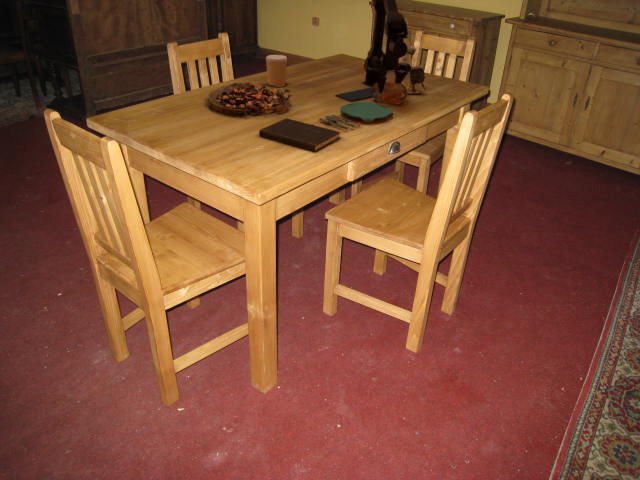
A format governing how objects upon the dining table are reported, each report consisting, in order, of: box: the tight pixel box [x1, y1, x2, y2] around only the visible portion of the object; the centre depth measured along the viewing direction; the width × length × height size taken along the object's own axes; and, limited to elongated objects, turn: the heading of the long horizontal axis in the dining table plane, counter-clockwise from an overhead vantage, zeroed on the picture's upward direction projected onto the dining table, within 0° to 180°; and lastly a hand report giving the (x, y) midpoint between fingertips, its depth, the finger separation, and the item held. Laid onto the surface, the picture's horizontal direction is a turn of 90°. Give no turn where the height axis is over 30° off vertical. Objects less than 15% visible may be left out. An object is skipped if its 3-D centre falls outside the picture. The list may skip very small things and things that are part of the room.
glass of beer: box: [265, 54, 288, 88], centre depth 229 cm, size 9×9×12 cm
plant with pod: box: [405, 45, 426, 95], centre depth 223 cm, size 8×11×20 cm
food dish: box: [206, 82, 293, 117], centre depth 205 cm, size 35×33×8 cm
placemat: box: [335, 87, 373, 103], centre depth 223 cm, size 20×10×1 cm, turn 130°
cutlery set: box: [318, 101, 394, 131], centre depth 196 cm, size 20×30×2 cm, turn 134°
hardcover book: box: [258, 117, 341, 152], centre depth 177 cm, size 16×23×2 cm
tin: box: [371, 81, 408, 106], centre depth 213 cm, size 15×3×8 cm, turn 65°
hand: (388, 90), depth 213 cm, fingers open, 9 cm apart
